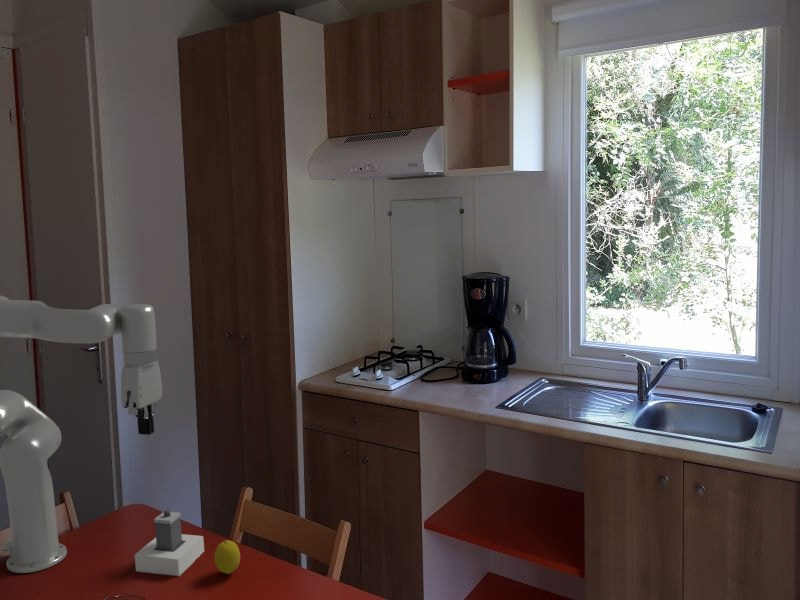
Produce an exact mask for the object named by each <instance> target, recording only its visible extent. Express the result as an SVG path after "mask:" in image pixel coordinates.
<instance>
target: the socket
mask: <svg viewBox="0 0 800 600" xmlns="http://www.w3.org/2000/svg"><path fill="white" fill-rule="evenodd" d="M181 535H182V545H181V546H180V547H179V548H178V549H177V550H175V551H174V552H169V551H159V550H157V543H156V537H154V539H153V538H152V540H151V541H149V542H148V543H147V544H146V545H144V546H143V547H142V548H140V550H138V551H137V552H136V553H135V554H134V560H135V561H134V564H135V572H138V573H139V572H140V573H149V574H156V575H167V576H175V577H180V576H181V575H182V574H183V573H184V572H185V571H186V570H188V568H189V567H191V566H192V564H194V563H195V562H196V561H195V560H196V559H197V558H198V557H199V558H200V557H201V556H202V555H203V554H204V553H205V545H204V544H205V542H204V536H203V535H193V534H187V533H186V534H183V533H181ZM203 552H204V553H203ZM202 553H203V554H202ZM201 554H202V555H201ZM200 555H201V556H200ZM199 558H198V559H199ZM198 559H197V560H198Z"/></svg>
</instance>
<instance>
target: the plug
mask: <svg viewBox="0 0 800 600" xmlns="http://www.w3.org/2000/svg"><path fill="white" fill-rule="evenodd" d="M153 522H154V526H155V527H154V528H155V538H156V543H157V550H159V551H169V552H174V551H175V550H177V549H178V548H179V547H180V546H181V545H182V535H181V534H182V523H181V522H182V521H181V512H176V511H171V510H164V511H163V512H161V513H160V514H159V515H158V516H156V517H155V518H154V519H153Z"/></svg>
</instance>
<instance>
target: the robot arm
mask: <svg viewBox="0 0 800 600" xmlns="http://www.w3.org/2000/svg"><path fill="white" fill-rule="evenodd" d="M156 330H157V328H156V315H155V309H154V307H153V306H152V305H151V304H148V303H134V304H128V305H127V304H126V305H124V304H123V305H122V304H115V303H114V304H111V303H103V304H99V305H96V306H94V307H92V308H90V309H68V308H65V309H64V308H55V307H51V306H49V305H47V304H46V303H44V302H43V301H40V300H27V299H26V300H24V299H19V300H18V299H9V298H8V297H6V296H3V295H0V338H18V339H19V338H23V339H36V340H37V339H38V340H41V341H48V342H49V341H50V342H53V343H54V342H55V343H64V344H99V343H102V342H105V341H106V340H107V339H109V338H111V337H113V336H115V335H119V334H120V335H121V349H122V359H123V366H122V369H121V373H120V375H121V376H120V399H121V407H122V409H123V408H124V409H128V410H127V413H128V415H129V416H135V418H136V419H137V431H138V435H146V436H151V434H154V433H155V423H154V416H155V408H156V406H157V405H158V404H159V403H160V401H161V398H162V397H163V381H162V375H161V369H160V364H159V356H158V355H159V354H158V345H157V344H158V343H157V342H158V341H157V331H156ZM3 435H7V436H8V438H7V439H6V440H5V441H4V443H3V444H2V446H1V448H0V470H1V474H2V478H3V481H4V487H5V492H6V501H7V508H8V517H9V529H10V537H11V538H10V537H9V538H6V539H5V540H4V544H3V545H2V546H1V549H0V550H1V551H2V552H9V557H8V558H7V560H6V569H7V570H8V571H10V572H12V573H16V574H28V573H35V572H39V571H43V570H46V569H48V568H50V567H54V566H55V565H57V564H58V563H60V562H62V561H63V560H64V559H65V557H67V554H68V551H67V547H66V546H65V545H64V544H62V543H60V542H59V534H58V524H57V514H56V503H55V493H54V486H53V485H54V484H53V480H52V474H51V472H50V469H49V467H48V460H49V458H51V456H53V454H54V453H55V452H56V451H57V450H58V449H59V447H60V445H61V443H62V432H61V429H60V427H59V426H58V425H57V423H55V422H54V420H53V419H51V418H50V417H49V416H47V414H45V412H43V411H42V410H41V409H39V408H38V407H37V406H36V405H35V404H34V403H32V402H31V401H30V400H28V398H27V397H25V396H24V395H22V394H20V393H19V392H16V391H14V390H10V389H0V437H2V436H3Z"/></svg>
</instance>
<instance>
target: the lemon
mask: <svg viewBox="0 0 800 600" xmlns="http://www.w3.org/2000/svg"><path fill="white" fill-rule="evenodd" d="M240 561H241V553H240V548H239V546H238V544H237V543H236V542H234V541H233V540H228V539H225V540H224V541H222V542H221V543H219V544H218V545H217V547H216V548H215V551H214V563H215V566H216V568H217V570H218V571H219V572H221V573H224V574H226V575H230V574H231V573H233V572H234V571H236V570H237V568H238V567H239V565H240Z"/></svg>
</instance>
